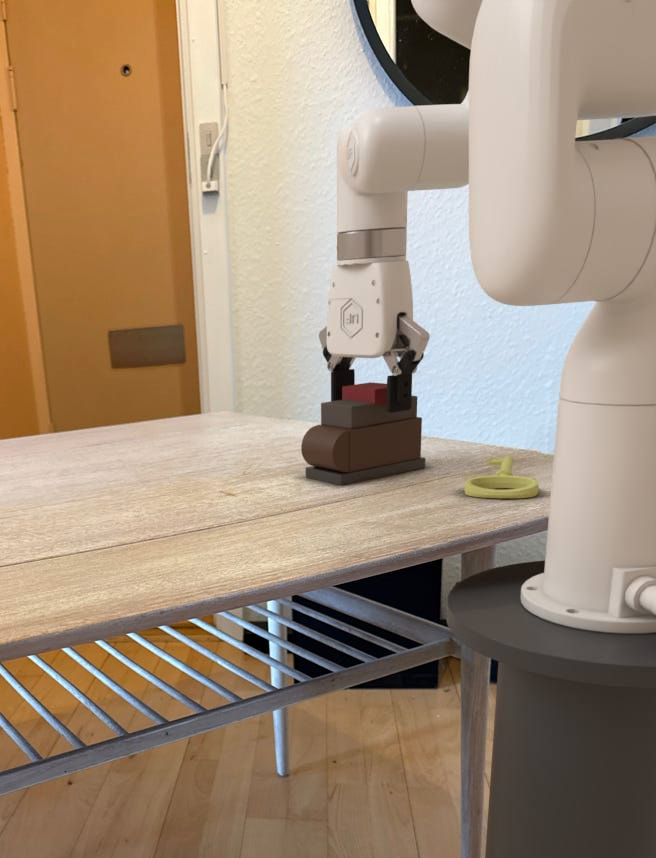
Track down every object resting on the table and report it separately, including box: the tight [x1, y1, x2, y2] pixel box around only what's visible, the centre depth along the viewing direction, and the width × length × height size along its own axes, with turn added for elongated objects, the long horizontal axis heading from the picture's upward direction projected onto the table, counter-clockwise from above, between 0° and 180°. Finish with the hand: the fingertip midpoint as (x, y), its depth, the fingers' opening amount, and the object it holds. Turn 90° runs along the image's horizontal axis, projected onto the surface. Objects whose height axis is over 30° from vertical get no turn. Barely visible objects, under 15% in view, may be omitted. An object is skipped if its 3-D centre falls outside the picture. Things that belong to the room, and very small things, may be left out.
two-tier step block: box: [320, 381, 418, 429], centre depth 107 cm, size 10×6×4 cm, turn 120°
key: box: [464, 454, 540, 499], centre depth 99 cm, size 7×12×2 cm, turn 176°
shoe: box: [300, 416, 426, 486], centre depth 109 cm, size 14×7×6 cm, turn 120°
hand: (369, 407), depth 107 cm, fingers open, 9 cm apart
